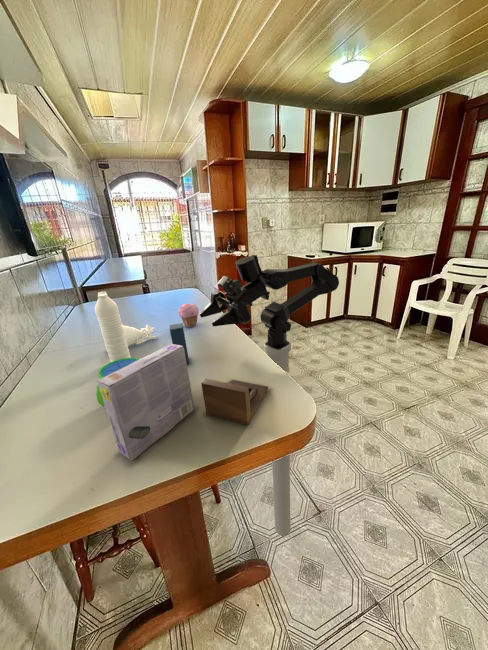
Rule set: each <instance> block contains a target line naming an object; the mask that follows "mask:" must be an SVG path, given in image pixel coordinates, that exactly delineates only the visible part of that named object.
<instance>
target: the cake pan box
mask: <svg viewBox="0 0 488 650" xmlns="http://www.w3.org/2000/svg"><path fill="white" fill-rule="evenodd" d="M139 359H140V360H138V361H136V362H134V363H132V364H130V365H128V366H126V367H124V368H122V369H120V370H118V371H116V372H114V373H112V374H110V375H108V376H106V377H103V378H101V379H98V380H97V381H96V383H97V385H98V386H99V389H100V392H101V395H102V398H103V401H104V405H105V407H104V408H105V411H106V415H107V417H108V420H109V423H110V427H111V430H112V433H113V436H114V439H115V442H116V445H117V448H118V451H119V453H120V454H121V455H123V456H124V457H126V458H127V459H128V460H130V461H131V462H132V461H135V460H136V459H137V458H138V456H140V455H141V454H142V453H144V452H145V451H146V450H147V449H148V448H150V447H151V446H152V445H153V444H154V443H156V442H157V441H158V440H161V439H162V438H163V437H164V436H165V435H166V434H167V433H169V432H170V431H171V430H172V429H174V428H175V426H176V425H177V424H179V423H180V422H181V421H183V419H185V418H186V417H188V416H189V414H191V413H192V412H194V411H195V409H196V408H195V404H194V397H193V392H192V386H191V381H190V376H189V370H188V364H187V363H186V357H185V351H184V347H183V346H181V345H175V344H172V343H170V344H168V345H166V346H164V347H162V348H160V349H158V350H156V351H154V352H152V353H150V354H147V355H146V356H144V357H141V358H139Z"/></svg>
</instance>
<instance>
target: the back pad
mask: <svg viewBox="0 0 488 650" xmlns="http://www.w3.org/2000/svg"><path fill="white" fill-rule="evenodd" d="M169 332H170V337H171V344H175V345H181V346H183V347H184V351H185V357H186V363H187V365H190V359H189V353H188V352H189V351H188V346H187V341H186V336H185V330H184V323H183V322H180V323H174V324H170V325H169Z"/></svg>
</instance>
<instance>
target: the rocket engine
mask: <svg viewBox="0 0 488 650" xmlns="http://www.w3.org/2000/svg"><path fill="white" fill-rule="evenodd" d="M122 326H123V329H124V334H125V337H126V340H127V345H128V347H130V346H132V345H141V344H143V343H144V342H145V341H151V340H155V339H157V335H153V331H155V330H156V328H155V327H154V326H152V327H151V326H150V324H146V325H145V327H142V328H140V329H138V328H136V327H133V326H128V325H124V324H122ZM104 346H105V345H104ZM105 350H106V351H107V349H106V346H105Z"/></svg>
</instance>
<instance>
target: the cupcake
mask: <svg viewBox="0 0 488 650" xmlns="http://www.w3.org/2000/svg"><path fill="white" fill-rule="evenodd" d="M177 314H178V316H180V318H181V320H182V323H183V326H185V327H187V328H192V327H194V326H196V325H197V323H198V315H200V310H199V307H198V306H197V304H195V303H182V304H181V305H180V306H179V308H178V310H177Z"/></svg>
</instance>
